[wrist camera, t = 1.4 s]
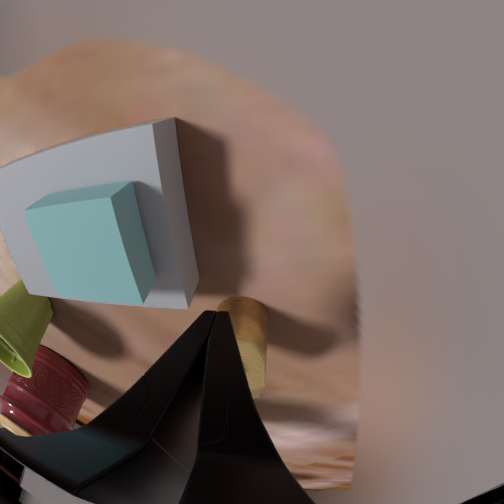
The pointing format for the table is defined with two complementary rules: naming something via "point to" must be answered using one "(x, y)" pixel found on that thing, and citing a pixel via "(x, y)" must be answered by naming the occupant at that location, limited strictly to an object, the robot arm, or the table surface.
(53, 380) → the canister
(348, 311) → the table surface
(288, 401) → the table surface
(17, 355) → the plant pot
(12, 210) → the jig
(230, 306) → the brass cylinder
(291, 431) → the table surface
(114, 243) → the teal block
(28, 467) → the robot arm
